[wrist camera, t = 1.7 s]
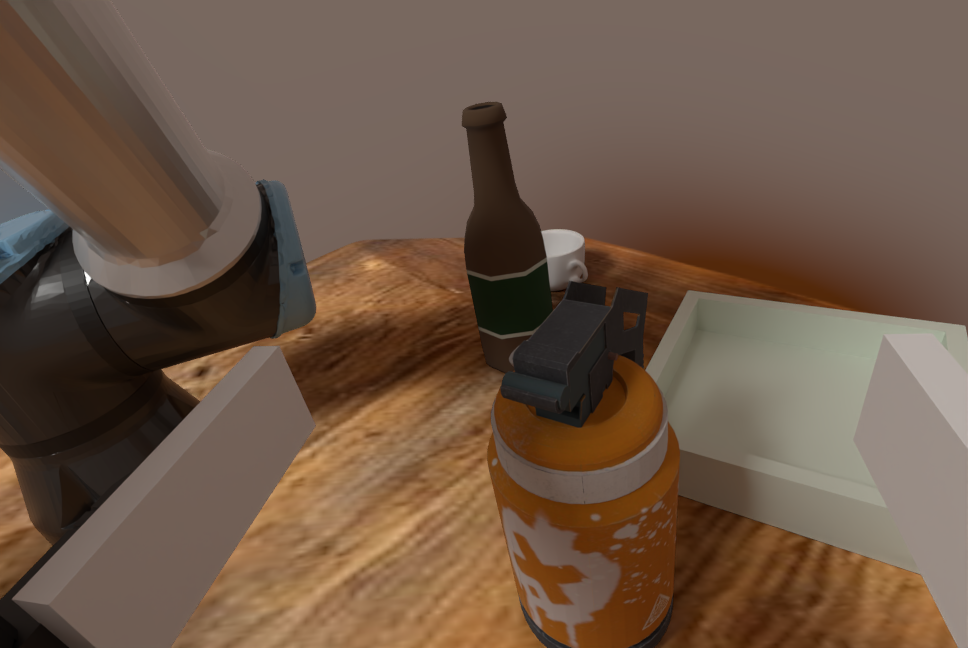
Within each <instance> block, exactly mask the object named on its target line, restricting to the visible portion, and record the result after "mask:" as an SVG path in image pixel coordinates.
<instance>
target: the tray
mask: <svg viewBox="0 0 968 648" xmlns="http://www.w3.org/2000/svg"><path fill="white" fill-rule="evenodd" d="M924 333H932V334H933V335H934V336H935V337H936V338H937V339H938V341H939V342H940V343H941V344H942V345H943V346H944V347H945V349H946V350H947V351H948V352H949V353H950V354H951V356H952V357H953V358H954V359H955V360H956V361H957V362H958V364H959V365H960V366H961V367H962V368H963V369H964V370H965V372H966V373H967V374H968V338H967V333H966V328H965V326H963V325H955V324H948V323H940V322H932V321H924V320H916V319H909V318H901V317H893V316H885V315H877V314H870V313H862V312H854V311H846V310H838V309H831V308H823V307H815V306H807V305H799V304H792V303H784V302H776V301H768V300H760V299H753V298H745V297H737V296H729V295H721V294H714V293H706V292H698V291H690V290H688V292H687V293H686V295H685V297H684V299H683V301H682V303H681V305H680V307H679V308H678V310H677V312H676V314H675V316H674V318H673V320H672V321H671V323H670V325H669V327H668V329H667V331H666V333H665V335H664V336H663V338H662V340H661V342H660V344H659V346H658V348H657V349H656V351H655V353H654V355H653V357H652V359H651V361H650V362H649V364H648V366H647V368H646V370H645V371H646V372H647V373H648V374H649V375H650V376H651V377H652V378H653V380H654V381H655V383H656V384H657V386H658V387H659V388H660V390H661V391H662V393H663V395H664V398H665V400H666V403H667V409H668V422H669V423H670V425H671V426H672V428H673V430H674V432H675V434H676V437H677V439H678V443H679V449H680V467H679V487H678V495H680V496H683V497H686V498H689V499H692V500H695V501H698V502H701V503H704V504H707V505H711V506H714V507H717V508H720V509H723V510H726V511H729V512H732V513H735V514H738V515H741V516H744V517H747V518H750V519H753V520H756V521H759V522H762V523H765V524H768V525H771V526H774V527H778V528H781V529H784V530H787V531H790V532H793V533H796V534H799V535H802V536H805V537H808V538H811V539H814V540H817V541H820V542H823V543H826V544H829V545H832V546H835V547H838V548H841V549H845V550H848V551H851V552H854V553H857V554H860V555H863V556H866V557H869V558H872V559H875V560H878V561H881V562H884V563H887V564H890V565H893V566H896V567H899V568H902V569H905V570H909V571H912V572H915V573H918V574H921V573H920V571H919V569H918V567H917V565H916V563H915V561H914V559H913V557H912V555H911V553H910V551H909V549H908V547H907V545H906V544H905V542H904V540H903V538H902V536H901V534H900V532H899V530H898V528H897V526H896V524H895V522H894V520H893V518H892V516H891V514H890V512H889V510H888V508H887V506H886V504H885V502H884V500H883V498H882V496H881V494H880V492H879V490H878V488H877V486H876V484H875V482H874V480H873V478H872V476H871V474H870V472H869V470H868V468H867V466H866V464H865V462H864V460H863V458H862V456H861V454H860V452H859V450H858V448H857V446H856V444H855V442H854V440H853V439H854V435H855V432H856V428H857V425H858V421H859V418H860V414H861V411H862V407H863V404H864V400H865V397H866V394H867V390H868V387H869V383H870V380H871V376H872V373H873V369H874V366H875V362H876V359H877V355H878V352H879V348H880V345H881V341H882V338H883V334H924Z"/></svg>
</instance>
